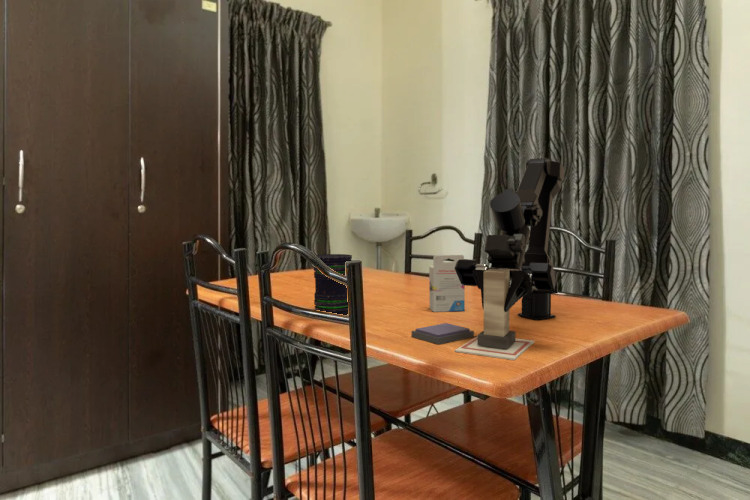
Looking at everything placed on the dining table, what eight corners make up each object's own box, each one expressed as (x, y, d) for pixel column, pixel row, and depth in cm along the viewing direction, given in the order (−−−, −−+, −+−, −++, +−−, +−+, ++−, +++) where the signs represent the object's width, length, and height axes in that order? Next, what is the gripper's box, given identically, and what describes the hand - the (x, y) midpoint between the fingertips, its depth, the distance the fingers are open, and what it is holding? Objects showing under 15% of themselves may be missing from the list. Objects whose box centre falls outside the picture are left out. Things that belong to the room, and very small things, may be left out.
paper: (480, 335, 105) (480, 333, 105) (534, 342, 99) (534, 340, 99) (454, 351, 93) (454, 349, 93) (514, 360, 87) (514, 357, 87)
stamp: (487, 338, 100) (487, 268, 99) (515, 341, 97) (515, 269, 96) (477, 345, 95) (477, 271, 94) (506, 349, 93) (507, 273, 91)
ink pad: (446, 329, 110) (446, 322, 110) (473, 336, 104) (473, 328, 104) (411, 336, 104) (411, 328, 104) (438, 344, 98) (438, 335, 98)
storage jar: (338, 319, 123) (337, 258, 122) (306, 315, 128) (305, 256, 127) (360, 312, 131) (359, 254, 130) (329, 308, 136) (329, 253, 135)
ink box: (459, 307, 136) (460, 253, 135) (464, 311, 131) (465, 254, 130) (428, 308, 135) (428, 253, 134) (432, 312, 130) (432, 255, 129)
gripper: (458, 219, 103) (435, 280, 94) (553, 219, 93) (538, 287, 84) (471, 255, 110) (452, 314, 101) (561, 258, 100) (548, 324, 92)
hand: (494, 309), depth 94 cm, fingers closed on stamp, 4 cm apart
